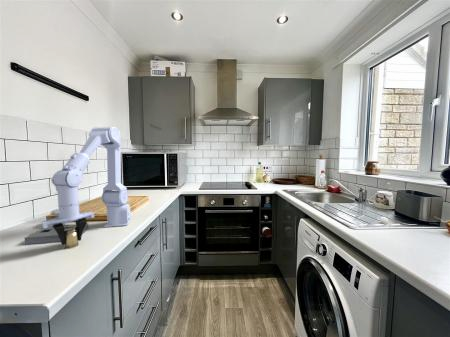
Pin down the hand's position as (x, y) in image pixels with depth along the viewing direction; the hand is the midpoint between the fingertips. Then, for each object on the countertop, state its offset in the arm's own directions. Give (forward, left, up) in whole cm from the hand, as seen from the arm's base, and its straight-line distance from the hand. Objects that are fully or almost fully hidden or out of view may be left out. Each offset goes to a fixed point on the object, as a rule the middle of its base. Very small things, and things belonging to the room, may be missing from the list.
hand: (71, 241), depth 73 cm
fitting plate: (+9, -11, -1) cm, 14 cm away
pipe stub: (0, 0, -1) cm, 1 cm away
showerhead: (+15, -27, -2) cm, 31 cm away
